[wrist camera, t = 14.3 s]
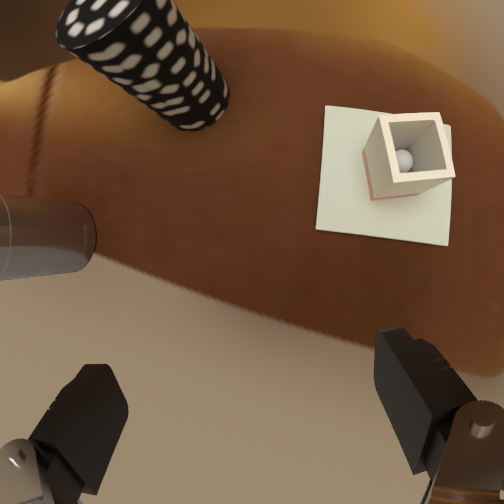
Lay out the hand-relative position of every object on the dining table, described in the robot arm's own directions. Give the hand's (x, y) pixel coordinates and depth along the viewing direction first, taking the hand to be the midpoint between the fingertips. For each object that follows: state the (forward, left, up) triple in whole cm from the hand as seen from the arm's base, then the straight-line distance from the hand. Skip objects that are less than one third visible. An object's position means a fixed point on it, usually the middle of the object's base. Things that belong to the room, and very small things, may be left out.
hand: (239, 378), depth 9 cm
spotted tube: (-14, +19, -25) cm, 35 cm away
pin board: (+8, +12, -25) cm, 29 cm away
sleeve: (+8, +12, -23) cm, 28 cm away
